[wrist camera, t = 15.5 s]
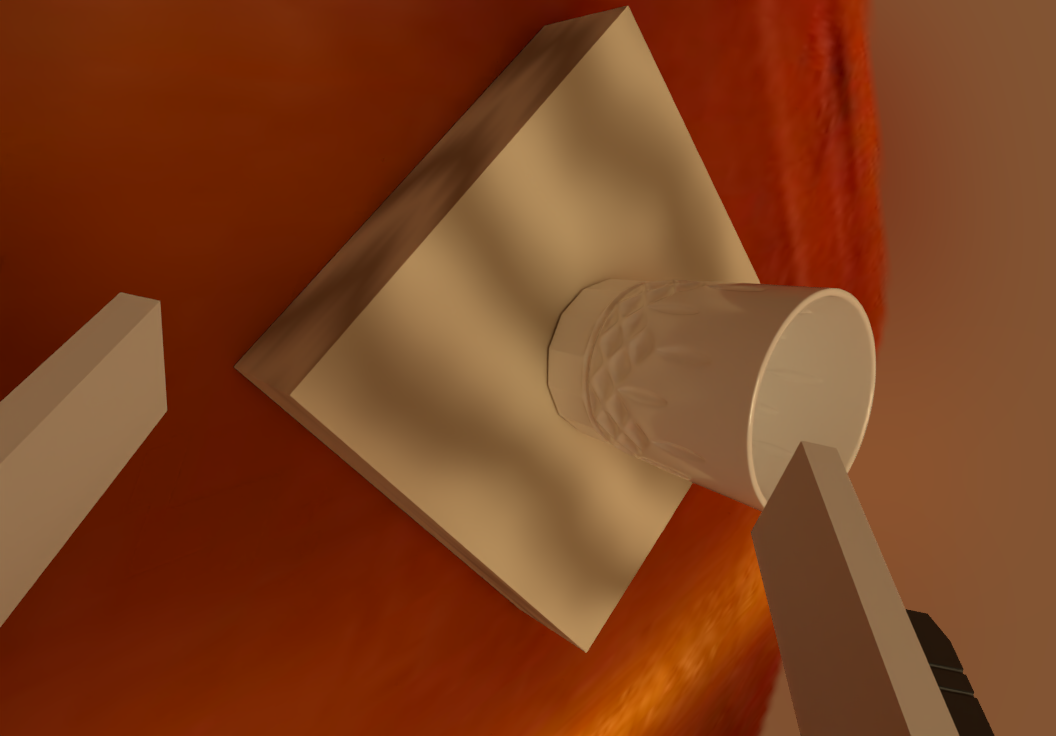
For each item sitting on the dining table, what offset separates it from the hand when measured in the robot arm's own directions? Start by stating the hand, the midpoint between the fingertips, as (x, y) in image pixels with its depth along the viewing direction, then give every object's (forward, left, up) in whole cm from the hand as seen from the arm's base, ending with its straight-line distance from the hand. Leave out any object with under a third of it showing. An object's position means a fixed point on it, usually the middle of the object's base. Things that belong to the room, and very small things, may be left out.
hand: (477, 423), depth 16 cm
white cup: (-9, +11, -10) cm, 18 cm away
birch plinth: (-9, +11, -15) cm, 21 cm away
